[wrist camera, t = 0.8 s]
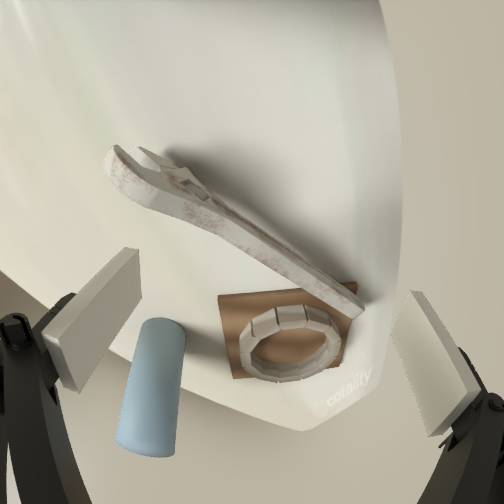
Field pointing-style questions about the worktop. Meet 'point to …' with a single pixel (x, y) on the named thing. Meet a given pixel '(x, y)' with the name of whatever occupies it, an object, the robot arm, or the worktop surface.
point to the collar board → (282, 334)
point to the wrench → (217, 220)
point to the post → (153, 390)
